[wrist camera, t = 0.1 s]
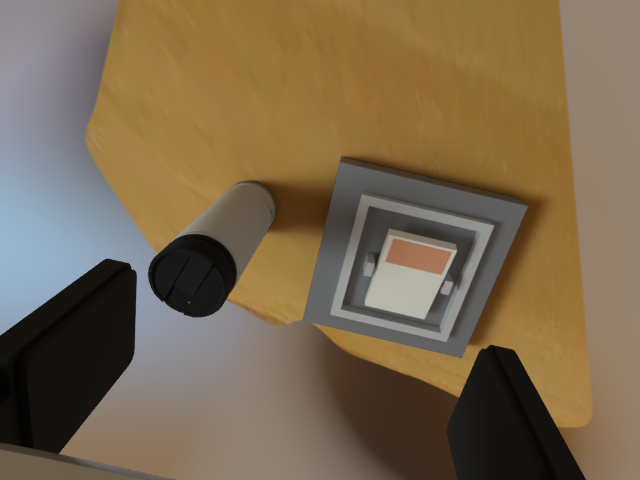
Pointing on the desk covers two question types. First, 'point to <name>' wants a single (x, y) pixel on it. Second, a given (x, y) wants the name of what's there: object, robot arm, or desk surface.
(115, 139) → the desk surface
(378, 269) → the rocker switch
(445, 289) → the switch plate
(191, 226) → the travel mug
